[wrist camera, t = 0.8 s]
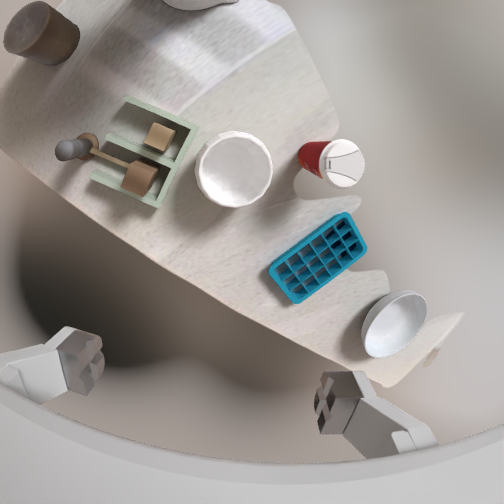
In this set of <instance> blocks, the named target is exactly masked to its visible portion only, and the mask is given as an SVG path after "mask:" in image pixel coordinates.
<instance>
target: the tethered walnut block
mask: <svg viewBox="0 0 504 504" xmlns="http://www.w3.org/2000/svg"><path fill="white" fill-rule="evenodd" d="M98 148H99V143H98V140H97V138H96V137H95V136H94V135H93V134H90V133H85V134H82V135H80V136H79V137H78V138H77V139H73V140H65V141H61V142H59V143H58V144H57V146H56V149H55V155H56V157H57V159H58V160H60V161H67V160H70V159H74V158H79V159H80V160H89V159H91V158H93V157H94V156H95V155H98V156H100V157H102V158H105V159H107V160H109V161H112V162H114V163H116V164H118V165H121V166H123V167H125V168H128V170H127V172H126V175H125V177H124V179H123V182H122V184H121V188H123V189H125V190H128V191H130V192H132V193H134V194H137V195H139V196H141V197H144V196H145V194H146V193H147V192H148V191H149V189H150V188H151V187H152V185H153V183H154V180H155V178H156V176H157V174H158V172H159V170H160V166H158V165H156V164H153V163H151V162H149V161H147V160H144V159H142V158H141V159H138V160H136V161H134V162H132V163H130V164H129V163H127V162H125V161H123V160H120V159H118V158H116V157H113V156H111V155H109V154H106V153H104V152H102V151H99V150H98Z"/></svg>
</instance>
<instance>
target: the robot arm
mask: <svg viewBox="0 0 504 504" xmlns="http://www.w3.org/2000/svg"><path fill="white" fill-rule="evenodd" d="M163 1H164V2H165V3H167V4H168V5H170V6H172V7H174V8H177V9H182V10H201V9H206V8H209V7H212V6H215V5H217V4H221V3H233V2H237V1H239V0H163ZM101 347H102V341H101V338H100V337H99V336H97V335H94V334H91V333H87V332H84V331H81V330H77V329H75V328H71V327H64V328H63V329H62V330H60V331H59V332H58V333H57V334H56V335H55V336H54V337H53V338H52V339H50V340H49V341H48V342H47V343H46V344H45V345H43V344H39V345H35V346H31V347H27V348H23V349H19V350H15V351H11V352H7V353H3V354H0V504H504V424H502V425H499V426H497V427H494V428H492V429H489V430H487V431H484V432H481V433H478V434H476V435H472V436H469V437H466V438H463V439H460V440H457V441H453V442H450V443H446V444H443V445H439V444H438V443H437V441H436V439H435V437H434V435H433V434H432V432H431V430H430V429H429V427H428V426H427V425H426V424H424V423H422V422H421V421H419V420H417V419H416V418H414V417H412V416H411V415H409V414H407V413H405V412H404V411H402V410H401V409H399V408H398V407H396V406H394V405H393V404H391V403H390V402H388V401H386V400H385V399H383V398H381V397H377V395H376V393H375V391H374V389H373V388H372V385H371V383H370V382H369V380H368V378H367V376H366V374H365V372H363V371H324V372H323V374H322V376H321V379H320V381H321V384H322V385H321V386H320V387H319V388H318V389H317V391H316V394H315V399H314V409H315V413H316V414H317V415H319V418H318V421H317V422H318V427H319V430H320V434H343V436H344V437H345V438H346V439H347V440H348V441H349V442H350V443H351V444H352V445H353V446H354V447H355V448H356V449H357V450H358V451H359V452H360V453H361V454H362V455H363V456H364V457H365V458H366V459H363V460H354V461H342V462H327V463H267V462H251V461H239V460H231V459H222V458H215V457H207V456H201V455H195V454H189V453H184V452H179V451H174V450H169V449H165V448H160V447H156V446H152V445H148V444H144V443H141V442H136V441H133V440H130V439H126V438H123V437H120V436H117V435H114V434H110V433H107V432H104V431H102V430H98V429H96V428H93V427H90V426H87V425H85V424H82V423H80V422H77V421H75V420H72V419H70V418H68V417H65V416H63V415H60V414H58V413H56V412H54V411H52V410H50V409H47V408H45V407H43V406H41V405H40V404H43V403H45V402H46V401H48V400H50V399H52V398H54V397H56V396H58V395H60V394H62V393H64V392H66V391H68V390H71V391H73V392H76V393H80V394H82V395H86V396H87V395H88V393H89V392H90V391H91V389H92V388H93V386H94V382H93V381H94V380H96V379H99V378H100V376H101V375H102V373H103V369H104V356H103V354H102V353H101V351H100V349H101Z"/></svg>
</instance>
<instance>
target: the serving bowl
mask: <svg viewBox="0 0 504 504" xmlns="http://www.w3.org/2000/svg"><path fill="white" fill-rule="evenodd" d="M427 311H428V307H427V302H426V300H425V299H424V297H423V296H422V295H420V294H418V293H417V292H414V291H411V290H398V291H394V292H392V293H390V294H388V295H386V296H384V297H383V298H382V299H380V300H379V301H378V302H377V303H376V304H375V305H374V306H373V307H372V308H371V310H370V311H369V313H368V314H367V316H366V318H365V320H364V323H363V326H362V331H361V339H362V344H363V346H364V349H365V351H366V352H367V354H368V355H370V356H371V357H374V358H384V357H388V356H391V355H393V354H395V353H397V352H399V351H401V350H402V349H403V348H405V347H406V346H407V345H408V344H409V343H411V342H412V341H413V339H414V338H415V337H416V336H417V335H418V333H419V332H420V330H421V329H422V327H423V325H424V323H425V320H426V317H427Z"/></svg>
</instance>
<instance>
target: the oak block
mask: <svg viewBox="0 0 504 504" xmlns="http://www.w3.org/2000/svg"><path fill="white" fill-rule="evenodd" d="M176 132H177V131H175V130H173V129H170V128H168V127H166V126H164V125H161V124H159V123H155V122H154V123H153V125H152V127H151V129H150V131H149V133H148V135H147V137H146V139H145V141H144V143H146V144H148V145H150V146H153V147H155V148H157V149H159V150H162V151H165V150H167V149H168V148H169V146H170V144H171V142H172V140H173V138H174V136H175V134H176Z"/></svg>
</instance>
